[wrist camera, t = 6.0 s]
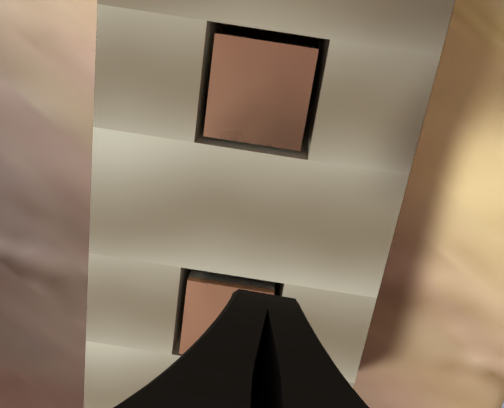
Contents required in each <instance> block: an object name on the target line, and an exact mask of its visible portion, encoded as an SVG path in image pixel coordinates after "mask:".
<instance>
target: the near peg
mask: <svg viewBox="0 0 504 408" xmlns="http://www.w3.org/2000/svg"><path fill="white" fill-rule="evenodd" d="M318 51H319V49H317V48H314V47H311V46H305V45H298V44H292V43H285V42H279V41H272V40H266V39H259V38H252V37H246V36H239V35H233V34H221V33H215V36H214V45H213V54H212V63H211V72H210V80H209V89H208V98H207V107H206V116H205V125H204V134H203V136H205V137H211V138H218V139H224V140H231V141H237V142H244V143H250V144H257V145H263V146H270V147H276V148H283V149H289V150H296V151H300V150H301V145H302V139H303V134H304V128H305V123H306V117H307V112H308V106H309V101H310V95H311V90H312V84H313V79H314V73H315V68H316V62H317V57H318Z"/></svg>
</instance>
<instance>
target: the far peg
mask: <svg viewBox="0 0 504 408" xmlns="http://www.w3.org/2000/svg"><path fill="white" fill-rule="evenodd" d="M238 289H243V290H248V291H254V292H260V293H266V294H272V295H274V293H275V282H271V281H265V280H258V279H252V278H245V277H239V276H233V275H226V274H220V273H213V272H207V271H200V270H194V269H191V272H190V274H189V277H188V280H187V287H186V296H185V305H184V314H183V323H182V332H181V341H180V350H179V354H184V353H185V352H186V351H187V350H188V349H189V348H190V347H191V346H192V345H193V344H194V343H195V342H196V341H197V340H198V339H199V338H200V337H201V336H202V335H203V333H204V332H205V331H206V330H207V329H208V328H209V326H210V325H211V324H212V323H213V322H214V321H215V319H216V318H217V317H218V316H219V314H220V313H221V312H222V310H223V309H224V308H225V306H226V305H227V303H228V301H229V300H230V298H231V296H232V294H233V292H235V291H236V290H238Z"/></svg>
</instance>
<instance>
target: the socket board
mask: <svg viewBox="0 0 504 408" xmlns="http://www.w3.org/2000/svg"><path fill="white" fill-rule="evenodd" d="M454 4H455V0H98V1H97V31H96V60H95V90H94V119H93V149H92V178H91V208H90V237H89V266H88V296H87V325H86V355H85V384H84V408H113V407H115V406H117V405H118V404H120V403H121V402H123V401H124V400H125V399H127V398H128V397H130V396H131V395H133V394H134V393H136V392H137V391H139V390H140V389H141V388H143V387H144V386H146V385H147V384H148V383H150V382H151V381H152V380H153V379H155V378H156V377H157V376H159V375H160V374H161V373H162V372H163V371H165V370H166V369H167V368H168V367H169V366H171V365H172V364H173V363H174V362H175V361H176V360H177V359H178V358H180V357H181V356H182V355H183V354H179V350H180V341H181V332H182V323H183V314H184V305H185V296H186V287H187V280H188V277H189V274H190V272H191V269H194V270H200V271H207V272H213V273H220V274H226V275H233V276H239V277H245V278H252V279H258V280H265V281H271V282H276V284H275V293H274V295H278V296H283V297H289V298H295V299H296V300H297V302H298V303H299V305H300V307H301V309H302V311H303V312H304V314H305V316H306V318H307V320H308V322H309V323H310V325H311V327H312V329H313V330H314V332H315V334H316V335H317V337H318V339H319V340H320V342H321V344H322V345H323V347H324V348H325V350H326V351H327V353H328V354H329V356H330V357H331V359H332V361H333V362H334V364H335V365H336V366H337V368H338V369H339V371H340V372H341V374H342V375H343V376H344V378H345V379H346V380H347V381H348V383H349V384H350V385H351V387H352V388H353V387H354V383H355V380H356V376H357V372H358V368H359V364H360V361H361V357H362V353H363V349H364V345H365V342H366V338H367V334H368V330H369V326H370V323H371V319H372V315H373V311H374V307H375V304H376V300H377V296H378V292H379V288H380V285H381V281H382V277H383V273H384V269H385V266H386V262H387V258H388V254H389V250H390V247H391V243H392V239H393V235H394V231H395V228H396V224H397V220H398V216H399V212H400V209H401V205H402V201H403V197H404V193H405V190H406V186H407V182H408V178H409V174H410V171H411V167H412V163H413V159H414V156H415V152H416V148H417V144H418V140H419V137H420V133H421V129H422V125H423V121H424V118H425V114H426V110H427V106H428V102H429V99H430V95H431V91H432V87H433V83H434V80H435V76H436V72H437V68H438V64H439V61H440V57H441V53H442V49H443V45H444V42H445V38H446V34H447V30H448V26H449V23H450V19H451V15H452V11H453V7H454ZM223 24H225V25H232V26H238V27H245V28H251V29H258V30H264V31H271V32H277V33H284V34H291V35H297V36H304V37H310V38H317V39H320V41H319V46H318V49H319V51H318V57H317V62H316V68H315V73H314V79H313V84H312V90H311V95H310V101H309V106H308V112H307V117H306V123H305V128H304V134H303V139H302V145H301V150H300V151H296V150H289V149H283V148H276V147H270V146H263V145H257V144H250V143H244V142H237V141H231V140H224V139H218V138H211V137H205V136H203V134H204V125H205V116H206V107H207V98H208V89H209V80H210V72H211V63H212V54H213V45H214V36H215V33H221V34H222V25H223Z"/></svg>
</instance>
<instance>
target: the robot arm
mask: <svg viewBox="0 0 504 408" xmlns="http://www.w3.org/2000/svg"><path fill="white" fill-rule="evenodd" d="M113 408H369V407H368V406H367V405H366V404H365V403H364V401H363V400H362V399H361V398H360V397H359V395H358V394H357V393H356V392H355V391H354V389H353V388H352V387H351V385H350V384H349V383H348V381H347V380H346V379H345V378H344V376H343V375H342V374H341V372H340V371H339V369H338V368H337V366H336V365H335V364H334V362H333V361H332V359H331V357H330V356H329V354H328V353H327V351H326V350H325V348H324V347H323V345H322V344H321V342H320V340H319V339H318V337H317V335H316V334H315V332H314V330H313V329H312V327H311V325H310V323H309V322H308V320H307V318H306V316H305V314H304V312H303V311H302V309H301V307H300V305H299V303H298V302H297V300H296V299H295V298H289V297H283V296H278V295H272V294H266V293H260V292H254V291H248V290H243V289H238V290H236V291H235V292H233V294H232V296H231V298H230V300H229V301H228V303H227V305H226V306H225V308H224V309H223V310H222V312H221V313H220V314H219V316H218V317H217V318H216V319H215V321H214V322H213V323H212V324H211V325H210V326H209V328H208V329H207V330H206V331H205V332H204V333H203V335H202V336H201V337H200V338H199V339H198V340H197V341H196V342H195V343H194V344H193V345H192V346H191V347H190V348H189V349H188V350H187V351H186V352H185V353H184V354H183V355H182V356H181V357H180V358H178V359H177V360H176V361H175V362H174V363H173V364H172V365H171V366H169V367H168V368H167V369H166V370H165V371H163V372H162V373H161V374H160V375H159V376H157V377H156V378H155V379H153V380H152V381H151V382H150V383H148V384H147V385H146V386H144V387H143V388H141V389H140V390H139V391H137V392H136V393H134V394H133V395H131V396H130V397H128V398H127V399H125V400H124V401H123V402H121V403H120V404H118V405H117V406H115V407H113ZM501 408H504V401H503V404H502V406H501Z"/></svg>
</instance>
